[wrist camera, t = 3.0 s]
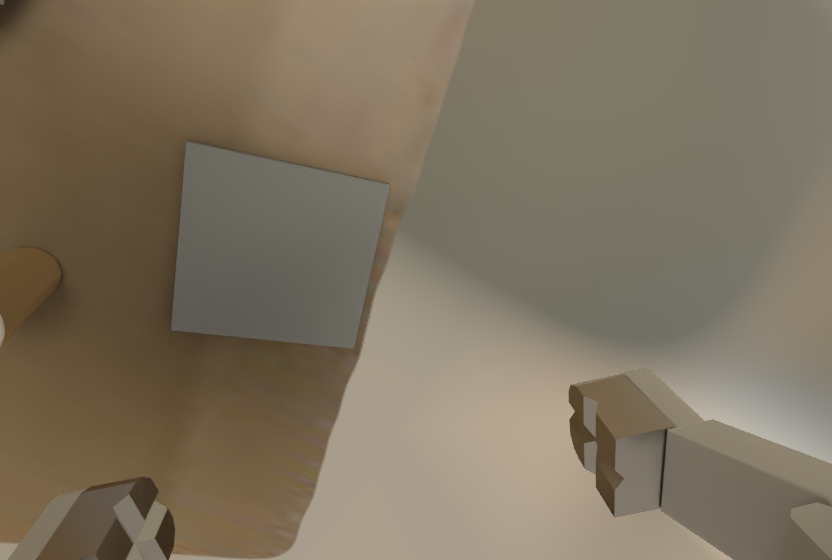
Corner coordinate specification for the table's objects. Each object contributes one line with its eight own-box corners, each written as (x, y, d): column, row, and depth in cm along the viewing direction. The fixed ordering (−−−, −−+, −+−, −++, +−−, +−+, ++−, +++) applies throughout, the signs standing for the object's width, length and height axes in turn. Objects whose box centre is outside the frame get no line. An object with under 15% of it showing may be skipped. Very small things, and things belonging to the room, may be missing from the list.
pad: (173, 325, 33) (170, 330, 32) (188, 140, 29) (186, 141, 28) (352, 343, 37) (353, 348, 36) (388, 183, 33) (390, 185, 32)
